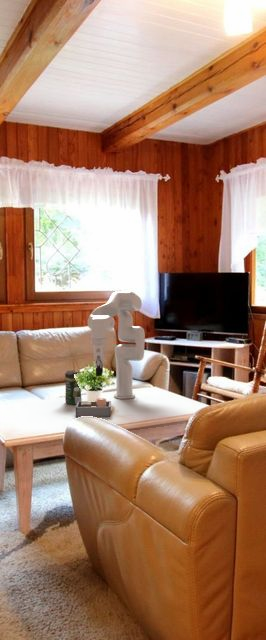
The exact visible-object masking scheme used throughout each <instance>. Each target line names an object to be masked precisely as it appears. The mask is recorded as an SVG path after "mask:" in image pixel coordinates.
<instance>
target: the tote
mask: <svg viewBox="0 0 266 640" xmlns="http://www.w3.org/2000/svg"><path fill="white" fill-rule="evenodd" d="M88 401H89V400H88ZM88 401H87V400H86V401H85V400H84V401H83V400H81V401H78V403H77V405H75V417H76V418H81V417H80V416H95V417H94V418H110V417H111V415H112V401H110V400H106V407H97V400H96V401H95V400H94V401H95V402H91V406H96V407H81V403H82V402H88Z"/></svg>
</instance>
